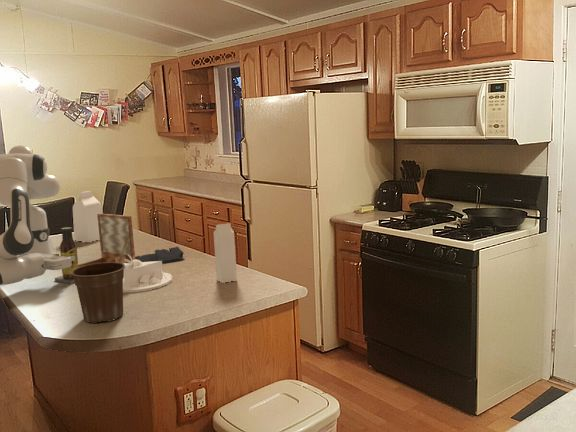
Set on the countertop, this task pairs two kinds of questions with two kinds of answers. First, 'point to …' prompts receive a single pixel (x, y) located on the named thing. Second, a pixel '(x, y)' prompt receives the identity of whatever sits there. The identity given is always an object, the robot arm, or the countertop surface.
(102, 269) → the plant pot
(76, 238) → the milk
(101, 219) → the cedar box
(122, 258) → the brown rounded block
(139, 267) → the dish
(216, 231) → the milk
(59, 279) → the slate tile
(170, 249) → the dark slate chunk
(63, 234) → the sauce bottle
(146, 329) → the countertop surface
